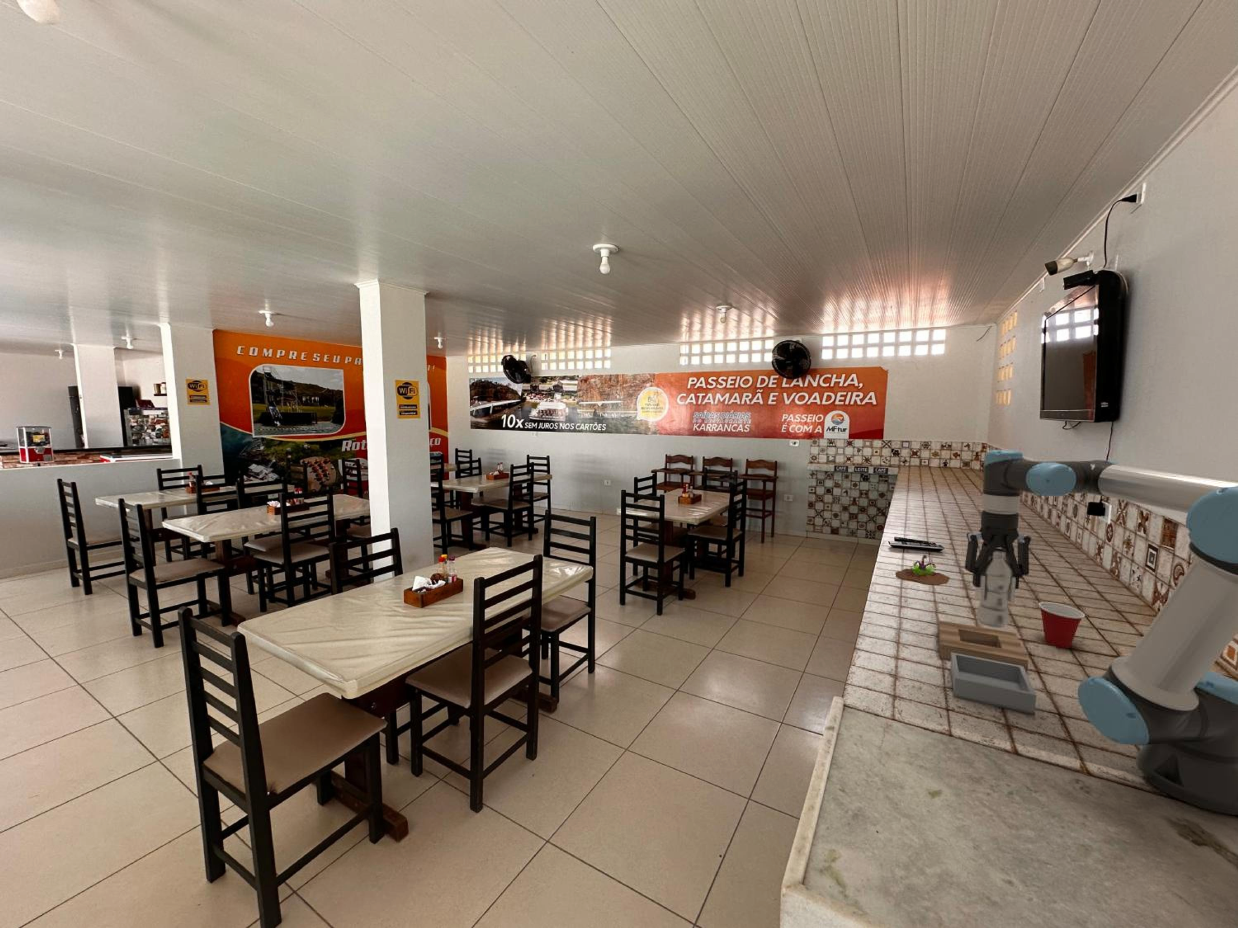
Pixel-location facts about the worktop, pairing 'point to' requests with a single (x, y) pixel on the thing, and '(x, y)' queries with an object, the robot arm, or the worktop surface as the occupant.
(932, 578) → the plant
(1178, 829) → the worktop surface
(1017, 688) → the slate tray
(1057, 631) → the plastic cup
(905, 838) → the worktop surface
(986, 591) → the plastic bottle
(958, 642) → the walnut frame
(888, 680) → the worktop surface
